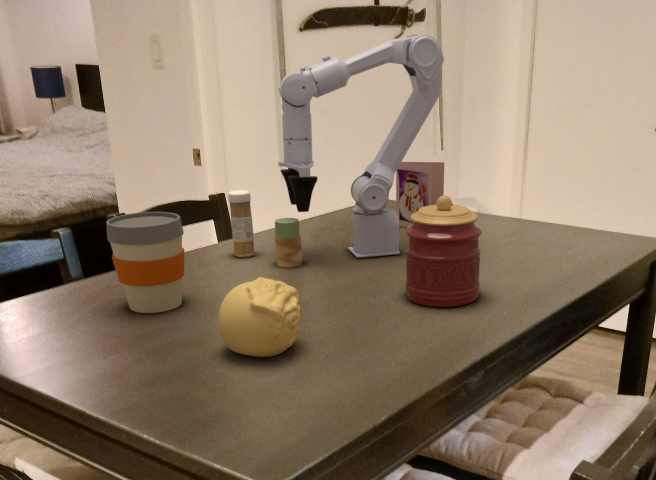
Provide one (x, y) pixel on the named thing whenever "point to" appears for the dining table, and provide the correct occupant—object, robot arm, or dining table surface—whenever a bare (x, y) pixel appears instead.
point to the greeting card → (417, 188)
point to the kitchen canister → (443, 255)
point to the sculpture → (260, 317)
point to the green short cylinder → (287, 227)
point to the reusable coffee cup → (148, 259)
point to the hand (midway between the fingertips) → (299, 207)
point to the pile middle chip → (288, 244)
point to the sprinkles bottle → (241, 223)
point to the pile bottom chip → (289, 259)
